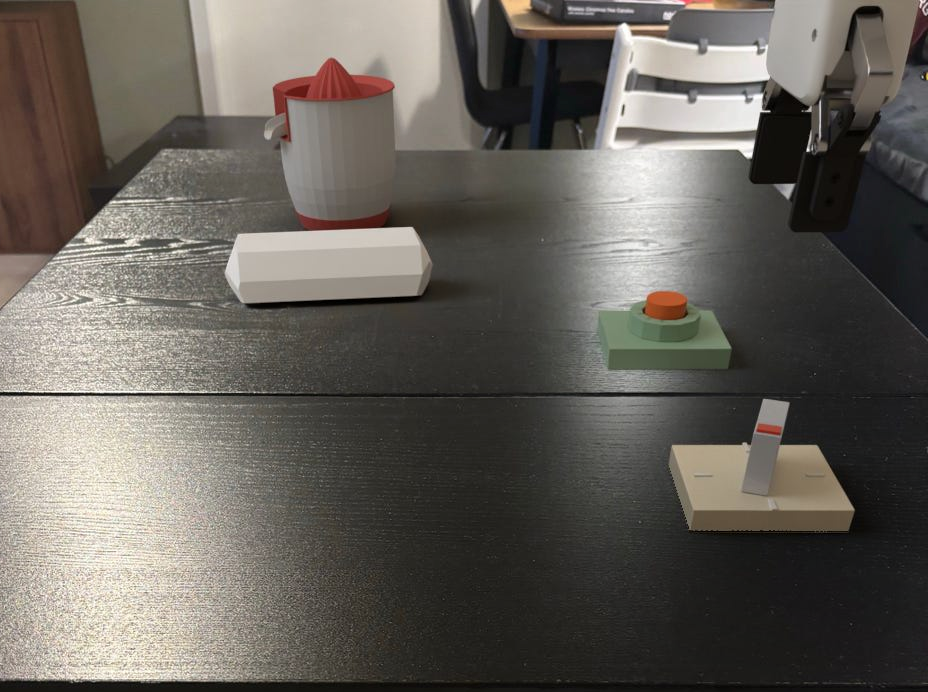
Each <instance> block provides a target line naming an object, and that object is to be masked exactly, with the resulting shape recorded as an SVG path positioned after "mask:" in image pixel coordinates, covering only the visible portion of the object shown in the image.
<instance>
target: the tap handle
mask: <svg viewBox="0 0 928 692" xmlns="http://www.w3.org/2000/svg"><path fill="white" fill-rule="evenodd" d="M790 403H791V402H789V401H784V400H783V401H782V400H776V399H769V398H763V399H762V402H761V405H760V408H759V412H758V417H757V419H756V423H755V426H754V430H753V434H752V438H751V443H750V445H751V447H750V452H749V456H748V461H747V465H746V469H745V474H744V478H743V483H742V487H741V491H742V492H747V493H753V494H758V495H764V496H767V495H768V492H769V488H770V483H771V479H772V475H773V471H774V467H775V463H776V459H777V455H778V451H779V447H780V445H781V442H782V439H783V438H782V437H783V434H784V430H785V425H786V421H787V417H788V413H789V408H790Z"/></svg>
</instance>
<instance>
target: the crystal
mask: <svg viewBox="0 0 928 692" xmlns="http://www.w3.org/2000/svg"><path fill="white" fill-rule="evenodd" d="M433 266H434V265H433V262H432V259H431V257H430V255H429V253H428V250H427V249H426V247H425V244H424V243H423V241H422V239H421V237H420V236H419V234H418V233H417V231H416V230H415V228H414V227H413V226H404V227H403V226H400V227H380V228H373V229H348V230H323V231H310V230H301V231H300V230H299V231H275V232H273V231H272V232H251V233H249V232H248V233H237V236H236V238H235V240H234V243H233V247H232V250H231V252H230V255H229V258H228V262H227V265H226V268H225V270H224V277H225V278H226V280H227V283H228V285H229V287H230V288H231V289H232V292H233V293H234V294H235V295H236V297H237V298H238V300H239V302H240V303H241V302H242V303H241V304H260V303H280V302H281V303H282V302H283V303H284V302H304V301H306V302H307V301H323V300H324V301H325V300H327V301H328V300H348V299H351V300H352V299H371V298H392V297H393V298H395V297H414V296H415V297H416V296H422V295H423V294H424V292H425V290H426V288H427V286H428V284H429V282H430V279H431V274H432V270H433Z"/></svg>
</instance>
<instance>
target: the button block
mask: <svg viewBox="0 0 928 692" xmlns="http://www.w3.org/2000/svg"><path fill="white" fill-rule="evenodd" d="M646 300H647V299H644V300H641V301H637V302H636V303H634V304H633V305H632V306H631V307H630V308H629V310H599V311H598V317H597V328H596V331H597V335H598V339H599V342H600V346H601V350H602V354H603V357H604V361H605V365H606V370H611V371H612V370H616V371H617V370H620V371H621V370H729V365H730V360H731V355H732V350H733V348H732V346H731V344H730V343H729V340H728V339H727V337H726V335H725V333H724V331H723V329H722V327H721V325H720V324H719V321H718V320H717V317H716V315H715V313H714V312H713V310H712V309H710V310H709V309H707V310H706V309H701V310H699V308H698V307H697V306H695V305H693V304H691V303H689V302H687V306H686V312H685V317H684V318H682V319H678V320H660V319H655V318H651V317H649V316H647V315H645V308H646Z"/></svg>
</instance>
